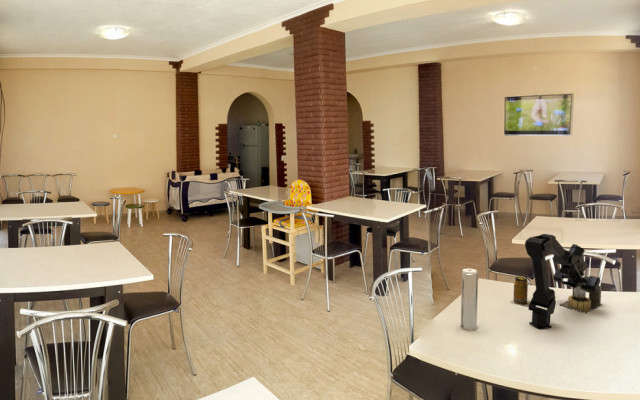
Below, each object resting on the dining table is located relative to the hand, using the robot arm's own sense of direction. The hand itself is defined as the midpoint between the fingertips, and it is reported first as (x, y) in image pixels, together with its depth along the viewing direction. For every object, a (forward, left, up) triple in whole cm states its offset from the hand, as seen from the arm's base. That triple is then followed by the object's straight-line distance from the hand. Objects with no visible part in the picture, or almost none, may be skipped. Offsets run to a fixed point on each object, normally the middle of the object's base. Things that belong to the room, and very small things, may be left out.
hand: (581, 289), depth 216 cm
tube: (-1, -1, -7) cm, 7 cm away
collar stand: (0, 0, -8) cm, 8 cm away
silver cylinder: (-62, -5, -8) cm, 63 cm away
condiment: (-23, +12, -8) cm, 27 cm away
